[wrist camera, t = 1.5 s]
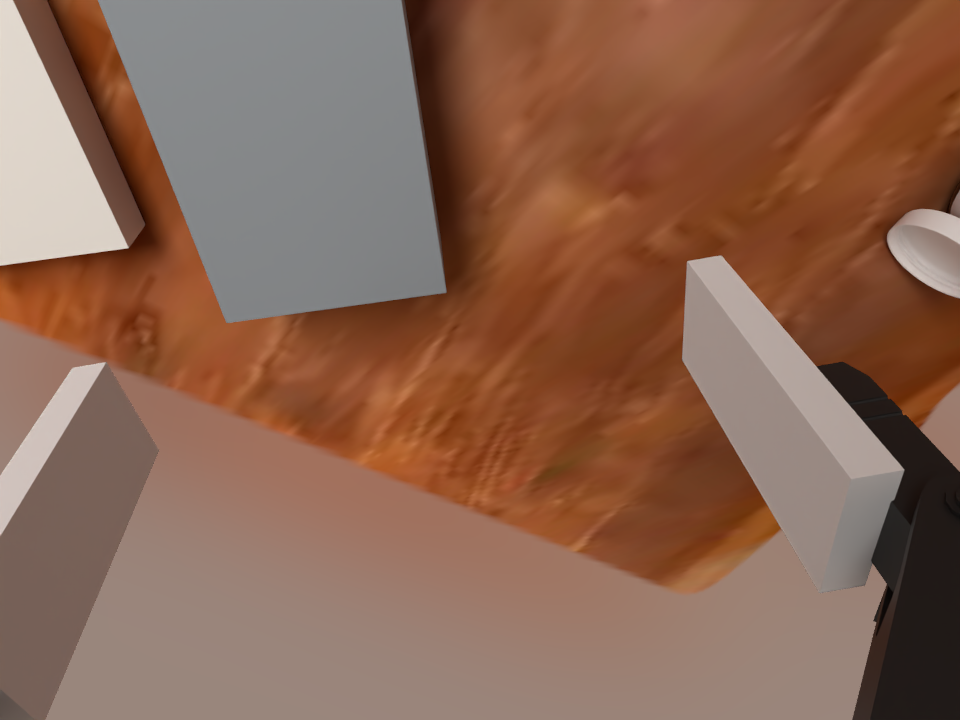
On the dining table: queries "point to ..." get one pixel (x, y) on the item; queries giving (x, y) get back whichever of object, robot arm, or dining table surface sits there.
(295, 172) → the low overhang
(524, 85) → the dining table surface
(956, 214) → the spread jar
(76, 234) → the pale grey flat slab
